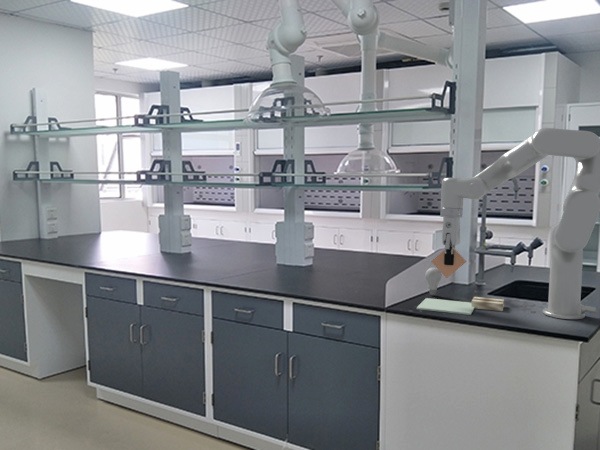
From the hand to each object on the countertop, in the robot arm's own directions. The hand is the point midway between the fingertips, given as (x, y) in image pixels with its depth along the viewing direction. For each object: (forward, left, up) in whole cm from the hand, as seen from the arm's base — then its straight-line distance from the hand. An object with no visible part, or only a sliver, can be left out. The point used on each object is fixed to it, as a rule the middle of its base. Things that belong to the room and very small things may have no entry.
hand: (449, 264), depth 190 cm
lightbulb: (+8, -13, -15) cm, 21 cm away
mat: (0, +3, -15) cm, 15 cm away
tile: (+3, 0, -2) cm, 4 cm away
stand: (-13, -3, -15) cm, 20 cm away
